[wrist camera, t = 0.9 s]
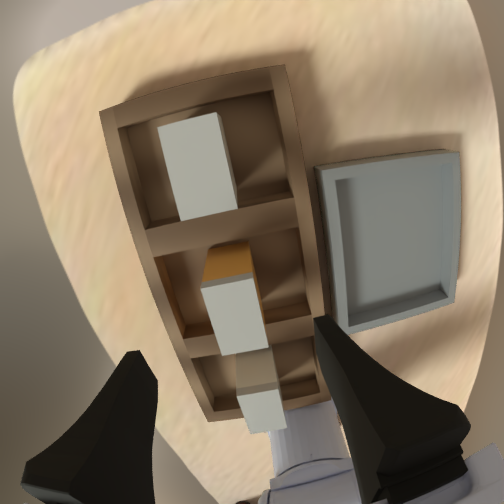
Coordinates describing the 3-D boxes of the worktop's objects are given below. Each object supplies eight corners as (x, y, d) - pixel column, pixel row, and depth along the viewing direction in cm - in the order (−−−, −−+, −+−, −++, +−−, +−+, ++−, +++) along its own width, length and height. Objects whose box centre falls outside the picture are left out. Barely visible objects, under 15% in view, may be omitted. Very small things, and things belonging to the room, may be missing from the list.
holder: (325, 380, 30) (331, 400, 28) (209, 401, 30) (208, 422, 28) (278, 71, 20) (284, 64, 17) (113, 112, 20) (98, 111, 17)
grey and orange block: (261, 299, 25) (268, 347, 20) (223, 307, 25) (222, 355, 20) (248, 241, 23) (253, 278, 18) (207, 249, 23) (200, 288, 18)
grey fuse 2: (278, 379, 29) (287, 427, 23) (247, 384, 29) (250, 434, 23) (269, 339, 27) (278, 388, 21) (235, 345, 27) (236, 396, 21)
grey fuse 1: (236, 187, 22) (237, 208, 16) (194, 196, 22) (180, 221, 16) (221, 116, 20) (216, 112, 14) (177, 127, 20) (157, 127, 15)
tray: (442, 291, 27) (454, 302, 25) (332, 322, 27) (339, 336, 25) (443, 149, 22) (459, 152, 20) (313, 166, 22) (321, 170, 20)
